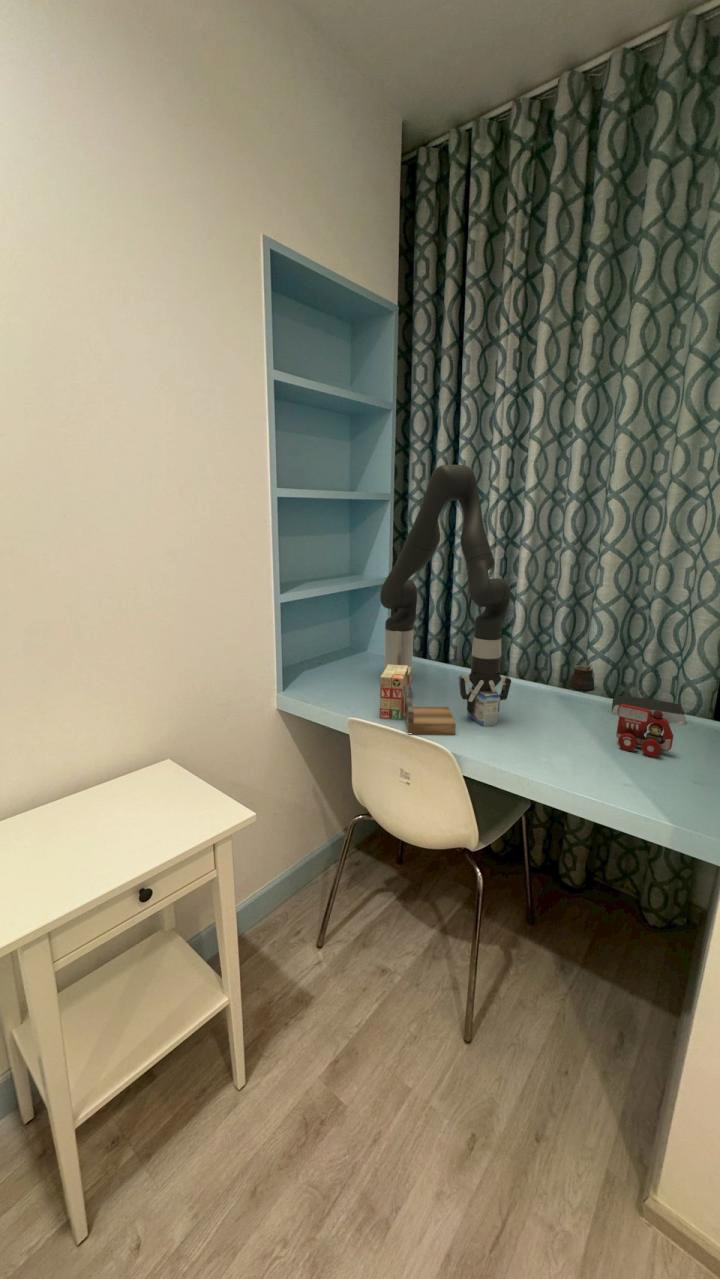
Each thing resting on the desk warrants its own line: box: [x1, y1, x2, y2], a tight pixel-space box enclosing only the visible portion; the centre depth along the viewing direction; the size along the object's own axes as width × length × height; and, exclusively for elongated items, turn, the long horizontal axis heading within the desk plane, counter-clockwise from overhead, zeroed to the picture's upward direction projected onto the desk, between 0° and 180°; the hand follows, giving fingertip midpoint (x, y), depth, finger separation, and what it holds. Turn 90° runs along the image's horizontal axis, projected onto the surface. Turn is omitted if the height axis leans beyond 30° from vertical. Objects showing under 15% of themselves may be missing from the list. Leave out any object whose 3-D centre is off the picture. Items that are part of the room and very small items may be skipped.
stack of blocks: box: [379, 664, 413, 721], centre depth 156 cm, size 21×6×12 cm, turn 168°
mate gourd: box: [569, 664, 595, 692], centre depth 170 cm, size 7×8×10 cm
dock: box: [404, 696, 457, 736], centre depth 142 cm, size 12×12×6 cm
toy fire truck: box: [615, 704, 674, 758], centre depth 129 cm, size 7×12×10 cm, turn 52°
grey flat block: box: [611, 695, 686, 726], centre depth 151 cm, size 12×18×4 cm
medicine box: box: [467, 686, 500, 727], centre depth 146 cm, size 8×4×9 cm, turn 23°
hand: (482, 713), depth 146 cm, fingers closed on medicine box, 5 cm apart
